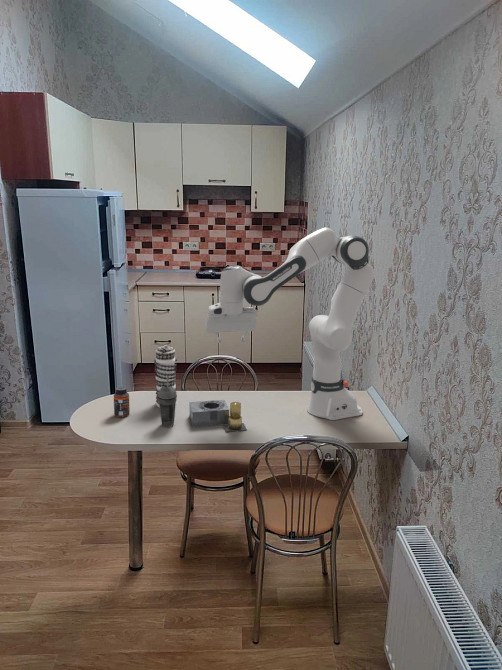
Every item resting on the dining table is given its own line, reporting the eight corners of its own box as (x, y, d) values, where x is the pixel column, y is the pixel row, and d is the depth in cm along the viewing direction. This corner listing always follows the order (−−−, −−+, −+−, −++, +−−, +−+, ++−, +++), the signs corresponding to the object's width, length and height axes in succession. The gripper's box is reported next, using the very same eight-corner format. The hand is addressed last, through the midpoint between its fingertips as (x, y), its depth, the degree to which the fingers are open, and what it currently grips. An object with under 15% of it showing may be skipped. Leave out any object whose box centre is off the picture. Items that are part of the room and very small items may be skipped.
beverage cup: (175, 419, 204) (174, 370, 199) (179, 427, 197) (178, 377, 192) (156, 421, 201) (155, 372, 196) (160, 429, 195) (159, 379, 190)
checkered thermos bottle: (157, 399, 223) (156, 343, 216) (179, 400, 223) (178, 344, 216) (153, 408, 214) (151, 349, 208) (175, 408, 214) (174, 350, 207)
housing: (224, 413, 210) (224, 399, 209) (229, 424, 201) (229, 409, 199) (189, 416, 207) (189, 402, 206) (192, 426, 198) (192, 412, 196)
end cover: (240, 423, 200) (240, 400, 198) (243, 429, 196) (243, 405, 193) (227, 424, 199) (227, 401, 197) (229, 430, 194) (230, 406, 192)
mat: (243, 424, 201) (243, 423, 201) (247, 430, 196) (247, 429, 195) (223, 425, 199) (223, 424, 199) (226, 432, 194) (226, 431, 194)
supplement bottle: (124, 419, 203) (123, 391, 200) (111, 416, 205) (109, 389, 202) (132, 413, 209) (131, 386, 206) (119, 411, 210) (118, 384, 207)
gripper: (255, 305, 208) (254, 338, 211) (204, 306, 203) (204, 341, 206) (259, 308, 202) (258, 343, 205) (206, 310, 197) (206, 345, 200)
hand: (230, 342), depth 206 cm, fingers open, 8 cm apart
